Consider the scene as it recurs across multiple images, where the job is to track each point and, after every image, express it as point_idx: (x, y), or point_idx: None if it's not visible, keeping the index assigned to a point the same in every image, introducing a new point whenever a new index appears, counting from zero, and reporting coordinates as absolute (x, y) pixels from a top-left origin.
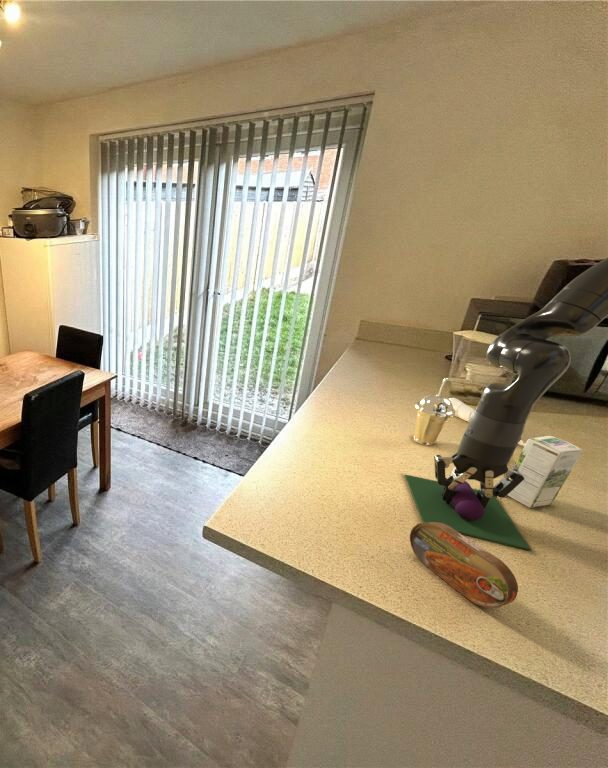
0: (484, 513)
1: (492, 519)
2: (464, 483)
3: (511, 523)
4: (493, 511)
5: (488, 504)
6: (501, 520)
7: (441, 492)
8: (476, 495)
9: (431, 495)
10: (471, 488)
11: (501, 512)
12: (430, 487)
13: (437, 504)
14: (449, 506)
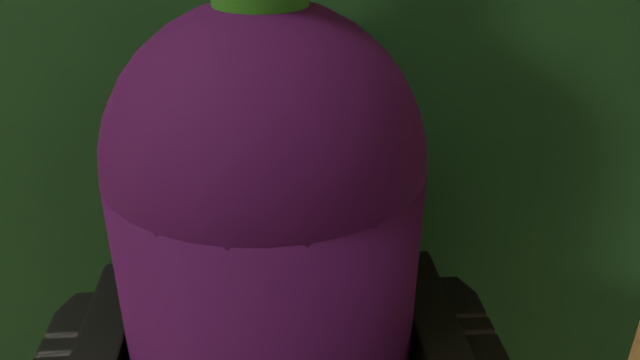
0: None
1: None
2: (290, 321)
3: (622, 331)
4: (566, 219)
5: (586, 104)
6: (561, 325)
7: (44, 339)
8: (417, 341)
9: (16, 194)
10: (374, 341)
11: (637, 202)
12: (2, 1)
13: None
14: None
